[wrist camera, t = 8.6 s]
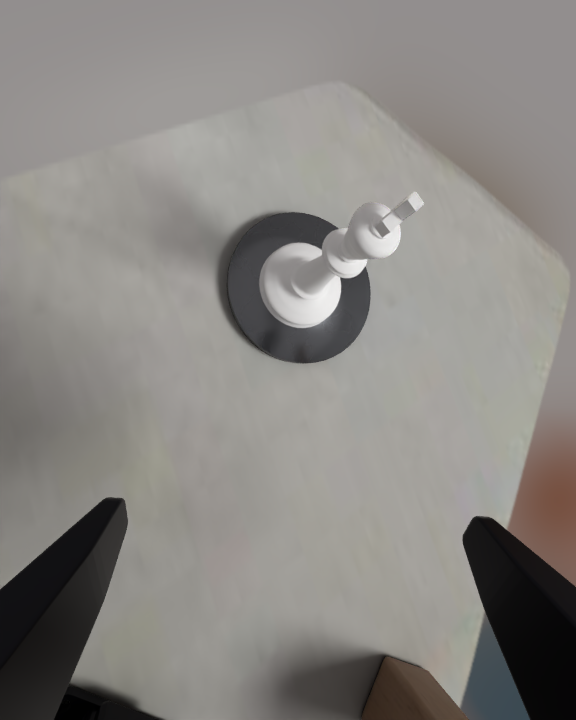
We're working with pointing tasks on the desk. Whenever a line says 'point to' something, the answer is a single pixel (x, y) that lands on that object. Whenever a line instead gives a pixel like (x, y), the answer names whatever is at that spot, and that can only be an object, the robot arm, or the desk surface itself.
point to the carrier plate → (257, 318)
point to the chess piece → (329, 263)
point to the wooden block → (408, 695)
